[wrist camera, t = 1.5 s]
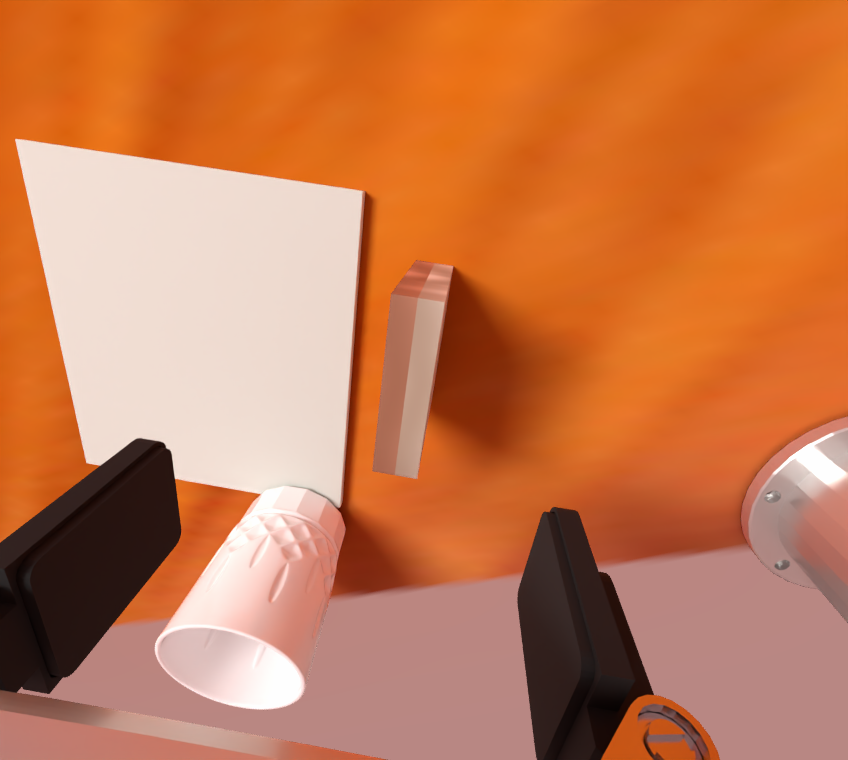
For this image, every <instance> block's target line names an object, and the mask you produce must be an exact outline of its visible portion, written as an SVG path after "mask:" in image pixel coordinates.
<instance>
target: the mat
mask: <svg viewBox="0 0 848 760" xmlns="http://www.w3.org/2000/svg"><path fill="white" fill-rule="evenodd" d="M15 140H16V145H17V149H18V154H19V158H20V163H21V167H22V172H23V177H24V181H25V186H26V190H27V195H28V199H29V204H30V208H31V213H32V217H33V222H34V226H35V231H36V236H37V240H38V245H39V249H40V254H41V258H42V263H43V267H44V272H45V276H46V281H47V286H48V290H49V295H50V299H51V304H52V308H53V313H54V317H55V322H56V326H57V331H58V335H59V340H60V345H61V349H62V354H63V358H64V363H65V367H66V372H67V376H68V381H69V385H70V390H71V394H72V399H73V404H74V408H75V413H76V417H77V422H78V426H79V431H80V435H81V440H82V444H83V449H84V453H85V458H86V463H90V464H95V465H102V464H103V463H105V462H106V461H107V460H108V459H110V458H111V457H112V456H114V455H115V454H116V453H118V452H119V451H120V450H121V449H123V448H124V447H125V446H127V445H128V444H129V443H131V442H132V441H133V440H135V439H137V438H143V439H149V440H155V441H161V442H163V443H164V444H165V445H166V448H167V449H170V451H171V453H172V460H173V468H174V476H175V479H180V480H185V481H191V482H197V483H202V484H208V485H213V486H219V487H225V488H230V489H236V490H242V491H247V492H253V493H259V494H262V493H263V492H264V491H265V490H268V489H272V488H277V487H281V486H291V487H298V488H305V489H308V490H310V491H312V492H315V493H317V494H319V495H321V496H322V497H324V498H326V499H328V500H329V501H330V502H331V503H332V504H333V505H334V506H335V507H337V508H340V507H341V504H342V501H343V487H344V473H345V460H346V446H347V433H348V419H349V406H350V392H351V378H352V365H353V351H354V338H355V324H356V311H357V297H358V283H359V270H360V256H361V243H362V229H363V216H364V202H365V191H361V190H354V189H347V188H341V187H334V186H327V185H321V184H314V183H308V182H301V181H294V180H288V179H281V178H274V177H268V176H261V175H254V174H248V173H241V172H235V171H228V170H221V169H215V168H208V167H201V166H195V165H188V164H182V163H175V162H168V161H162V160H155V159H148V158H142V157H135V156H129V155H122V154H115V153H109V152H102V151H95V150H89V149H82V148H75V147H69V146H62V145H56V144H49V143H42V142H36V141H29V140H21V139H15Z"/></svg>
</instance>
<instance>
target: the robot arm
mask: <svg viewBox="0 0 848 760" xmlns="http://www.w3.org/2000/svg"><path fill="white" fill-rule="evenodd" d="M741 524H742V530H743V535H744V537H745V539H746V541H747V543H748V545H749V547H750V548H751V550H752V551H753V552H754V553H755V555H756V556H757V557H758V559H759V560H760V561H761V563H762V564H763V565H764V566H765V567H767V568H768V569H769V570H770V571H771V572H772V573H774V574H776V575H777V576H779V577H781V578H783V579H785V580H787V581H789V582H791V583H795V584H797V585H800V586H803V587H808V588H814V589H819V590H820V591H821V592H822V593H823V595H824V596H825V597H826V598H827V599H828V600H829V602H830V603H831V604H832V605H833V606H834V607H835V609H836V610H837V611H838V612H839V613H840V614H841V616H842V617H843V618H844V619H845V620H846V621H847V623H848V417H844V418H841V419H837V420H834V421H831V422H829V423H827V424H824V425H822V426H820V427H818V428H815V429H813V430H811V431H809V432H807V433H805V434H804V435H802V436H800V437H799V438H797V439H795V440H794V441H792V442H790V443H789V444H788V445H786V446H785V447H784V448H783V449H782V450H780V451H779V452H778V453H777V454H775V455H774V456H773V457H772V458H771V459H770V460H769V461H768V462H767V463H766V464H765V466H764V467H763V468H762V469H761V470H760V471H759V472H758V473H757V475H756V477H755V478H754V480H753V482H752V483H751V485H750V486H749V488H748V490H747V493H746V496H745V499H744V501H743V504H742V513H741ZM180 536H181V524H180V516H179V508H178V500H177V492H176V484H175V476H174V468H173V460H172V453H171V451H170V449H167V448H166V445H165V444H164V443H163V442H161V441H155V440H149V439H143V438H137V439H135V440H133V441H132V442H131V443H129V444H128V445H127V446H125V447H124V448H123V449H121V450H120V451H119V452H118V453H116V454H115V455H114V456H112V457H111V458H110V459H108V460H107V461H106V462H105V463H103V464H102V465H101V466H99V467H98V468H97V469H95V470H94V471H93V472H92V473H90V474H89V475H88V476H86V477H85V478H84V479H82V480H81V481H80V482H79V483H77V484H76V485H75V486H73V487H72V488H71V489H70V490H68V491H67V492H66V493H64V494H63V495H62V496H60V497H59V498H58V499H57V500H55V501H54V502H53V503H51V504H50V505H49V506H47V507H46V508H45V509H44V510H42V511H41V512H40V513H38V514H37V515H36V516H34V517H33V518H32V519H31V520H29V521H28V522H27V523H25V524H24V525H23V526H21V527H20V528H19V529H18V530H16V531H15V532H14V533H12V534H11V535H10V536H8V537H7V538H6V539H5V540H3V541H2V542H1V543H0V760H386V759H381V758H376V757H370V756H365V755H359V754H354V753H348V752H344V751H339V750H333V749H328V748H323V747H317V746H312V745H307V744H301V743H296V742H290V741H285V740H279V739H274V738H269V737H263V736H258V735H253V734H247V733H242V732H236V731H230V730H225V729H220V728H214V727H209V726H203V725H198V724H192V723H187V722H181V721H176V720H170V719H165V718H159V717H153V716H148V715H142V714H137V713H131V712H125V711H119V710H114V709H109V708H103V707H97V706H91V705H86V704H80V703H74V702H69V701H63V700H57V699H52V698H46V697H40V696H34V695H28V694H21V693H17V691H18V690H19V689H20V688H21V687H23V689H25V690H30V691H36V692H41V693H47V694H50V692H51V691H52V690H53V689H54V688H55V686H56V685H57V684H58V683H59V681H60V680H61V679H62V678H63V677H68V676H70V675H71V674H72V673H73V672H74V671H75V670H76V669H77V668H78V667H79V665H80V664H81V663H82V662H83V660H84V659H85V658H86V657H87V655H88V654H89V653H90V652H91V650H92V649H93V648H94V647H95V645H96V644H97V643H98V642H99V640H100V639H101V638H102V637H103V635H104V634H105V633H106V632H107V630H108V629H109V628H110V627H111V626H112V624H113V623H114V622H115V621H116V619H117V618H118V617H119V616H120V614H121V613H122V612H123V611H124V609H125V608H126V607H127V606H128V604H129V603H130V602H131V601H132V599H133V598H134V597H135V596H136V595H137V593H138V592H139V591H140V590H141V588H142V587H143V586H144V585H145V583H146V582H147V581H148V580H149V578H150V577H151V576H152V575H153V573H154V572H155V571H156V570H157V568H158V567H159V566H160V565H161V563H162V562H163V561H164V560H165V558H166V557H167V556H168V555H169V553H170V552H171V551H172V550H173V549H174V547H175V546H176V545H177V543H178V541H179V539H180ZM518 611H519V619H520V627H521V635H522V643H523V652H524V661H525V669H526V676H527V685H528V694H529V702H530V710H531V719H532V726H533V734H534V743H535V751H536V757H537V760H720V759H719V755H718V752H717V750H716V748H715V745H714V744H713V741H712V740H711V738H710V736H709V735H708V733H707V732H706V731H705V729H704V728H703V727H702V725H701V724H700V723H699V722H698V721H697V720H696V719H695V718H694V717H693V716H692V715H691V714H690V713H689V712H687V710H685V709H684V708H682V707H681V706H679V705H678V704H676V703H675V702H673V701H671V700H669V699H666V698H664V697H661V696H656V695H654V694H653V691H652V688H651V686H650V683H649V680H648V677H647V675H646V672H645V669H644V667H643V664H642V661H641V658H640V656H639V653H638V650H637V648H636V645H635V642H634V639H633V636H632V634H631V631H630V628H629V626H628V623H627V620H626V617H625V615H624V612H623V609H622V607H621V604H620V601H619V598H618V595H617V593H616V590H615V587H614V585H613V582H612V580H611V578H610V576H609V575H608V574H607V573H603V572H598V569H597V566H596V563H595V560H594V557H593V554H592V551H591V548H590V545H589V542H588V539H587V536H586V533H585V531H584V528H583V525H582V522H581V519H580V516H579V514H578V512H577V511H575V510H569V509H563V508H557V507H553V508H552V509H551V511H550V512H544V513H543V514H542V517H541V520H540V523H539V526H538V529H537V532H536V536H535V539H534V542H533V545H532V548H531V551H530V555H529V558H528V561H527V564H526V567H525V570H524V574H523V577H522V580H521V583H520V587H519V591H518Z"/></svg>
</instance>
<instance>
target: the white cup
mask: <svg viewBox="0 0 848 760" xmlns="http://www.w3.org/2000/svg"><path fill="white" fill-rule="evenodd" d="M345 531H346V528H345V525H344V521H343V518H342V515H341V513H340V512H339V511H338V510H337V509H336V508H335V506H334V505H333V504H332V503H331V502H330V501H329V500H328V499H326V498H324V497H322V496H321V495H319V494H317V493H315V492H312V491H310V490H308V489H305V488H298V487H291V486H281V487H277V488H272V489H268V490H265V491H264V492H263V493H262V494H261V495H260V496H259V497H258V498H257V499H256V500H254V502H253V503H252V504H251V506H250V507H249V509H248V511H247V512H246V514H245V515H244V517H243V518H242V520H241V521H240V523H238V524H237V525H236V527H235V528H234V529H233V530H232V532H231V533H230V534H229V536H228V537H227V539H226V540H225V542H224V543H223V545H222V546H221V547H220V549H219V550H218V551H217V553H216V554H215V555H214V557H213V558H212V560H211V561H210V563H209V564H208V566H207V567H206V569H205V570H204V571H203V573H202V574H201V576H200V577H199V579H198V580H197V582H196V583H195V585H194V586H193V588H192V589H191V591H190V592H189V594H188V595H187V597H186V598H185V599H184V601H183V602H182V604H181V605H180V607H179V608H178V610H177V611H176V613H175V614H174V616H173V617H172V618H171V620H170V621H169V623H168V624H167V626H166V627H165V629H164V630H163V632H162V633H161V635H160V636H159V637H158V639H157V641H156V644H155V654H156V657H157V659H158V661H159V663H160V665H161V666H162V667H163V668H164V670H165V671H166V672H167V673H168V674H169V675H170V676H171V677H172V678H174V679H175V680H176V681H178V682H179V683H180V684H182V685H183V686H185V687H186V688H188V689H190V690H192V691H193V692H195V693H198V694H199V695H202V696H204V697H206V698H209V699H211V700H215V701H217V702H220V703H223V704H227V705H231V706H236V707H241V708H248V709H276V708H281V707H285V706H288V705H290V704H293V703H294V702H296V701H297V700H299V699H300V698H301V696H302V695H303V694H304V692H305V688H306V684H307V681H308V677H309V673H310V670H311V666H312V662H313V658H314V655H315V651H316V647H317V644H318V640H319V636H320V633H321V629H322V625H323V622H324V618H325V614H326V611H327V607H328V603H329V600H330V596H331V592H332V588H333V583H334V578H335V574H336V571H337V561H338V557H339V552H340V549H341V545H342V542H343V538H344V535H345Z"/></svg>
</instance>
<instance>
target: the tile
mask: <svg viewBox="0 0 848 760" xmlns="http://www.w3.org/2000/svg"><path fill="white" fill-rule="evenodd" d="M452 272H453V266H450V265H444V264H437V263H431V262H424V261H418V260H416V261H415V263H414V264H413V265H412V267H411V268H410V269H409V271H408V272H407V273H406V275H405V276H404V277H403V279H402V280H401V281H400V283H399V284H398V285H397V287H396V288H395V289H394V291H393V292H392V293H391V300H390V310H389V319H388V329H387V338H386V348H385V357H384V367H383V376H382V386H381V395H380V405H379V414H378V424H377V433H376V442H375V452H374V461H373V471H374V472H380V473H386V474H391V475H397V476H403V477H409V478H414V479H417V476H418V471H419V466H420V460H421V455H422V450H423V444H424V439H425V434H426V428H427V423H428V418H429V412H430V407H431V402H432V396H433V390H434V384H435V377H436V371H437V365H438V359H439V352H440V346H441V340H442V334H443V328H444V321H445V315H446V309H447V303H448V296H449V290H450V284H451V278H452Z"/></svg>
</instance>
